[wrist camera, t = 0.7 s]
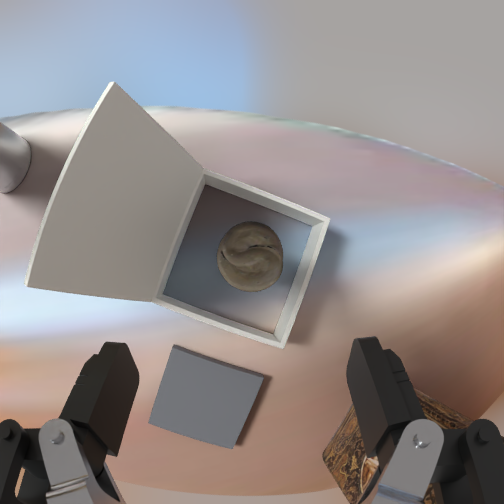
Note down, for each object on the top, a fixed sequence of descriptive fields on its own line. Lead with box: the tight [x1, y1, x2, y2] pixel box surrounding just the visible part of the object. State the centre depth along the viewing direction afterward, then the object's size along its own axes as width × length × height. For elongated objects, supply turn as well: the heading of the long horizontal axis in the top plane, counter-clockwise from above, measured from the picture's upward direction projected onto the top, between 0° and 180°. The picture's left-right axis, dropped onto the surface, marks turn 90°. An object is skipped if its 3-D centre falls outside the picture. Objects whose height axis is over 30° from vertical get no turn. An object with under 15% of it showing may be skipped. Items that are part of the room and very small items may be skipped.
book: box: [323, 387, 504, 504], centre depth 26 cm, size 16×6×25 cm, turn 155°
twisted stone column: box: [217, 222, 283, 292], centre depth 30 cm, size 6×6×15 cm
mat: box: [148, 345, 264, 449], centre depth 35 cm, size 12×12×2 cm
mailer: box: [24, 82, 330, 349], centre depth 27 cm, size 23×16×19 cm
